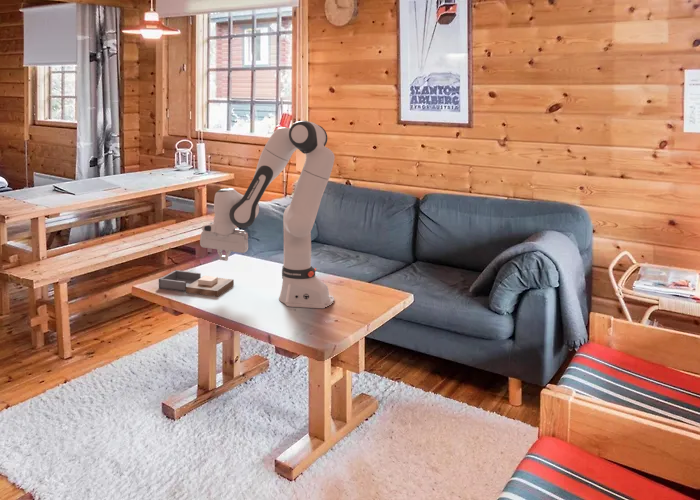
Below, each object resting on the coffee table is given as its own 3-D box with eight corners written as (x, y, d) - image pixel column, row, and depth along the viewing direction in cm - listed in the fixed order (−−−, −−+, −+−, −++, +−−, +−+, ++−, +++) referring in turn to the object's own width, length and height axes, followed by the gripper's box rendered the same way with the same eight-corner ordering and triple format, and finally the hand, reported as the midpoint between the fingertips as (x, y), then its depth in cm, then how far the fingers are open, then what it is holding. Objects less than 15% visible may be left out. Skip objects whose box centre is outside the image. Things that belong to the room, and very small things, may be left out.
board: (233, 285, 275) (233, 279, 274) (217, 296, 260) (217, 290, 259) (203, 281, 278) (203, 275, 278) (185, 292, 263) (185, 286, 263)
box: (200, 281, 278) (200, 273, 277) (184, 291, 265) (184, 282, 263) (175, 278, 280) (175, 270, 279) (158, 288, 267) (158, 279, 266)
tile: (217, 281, 271) (217, 277, 270) (211, 285, 265) (211, 281, 265) (204, 280, 272) (204, 275, 272) (198, 284, 267) (198, 279, 266)
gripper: (251, 229, 261) (250, 261, 265) (205, 223, 266) (205, 255, 269) (245, 232, 255) (244, 265, 259) (198, 226, 260) (198, 258, 263)
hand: (223, 260), depth 264 cm, fingers closed
